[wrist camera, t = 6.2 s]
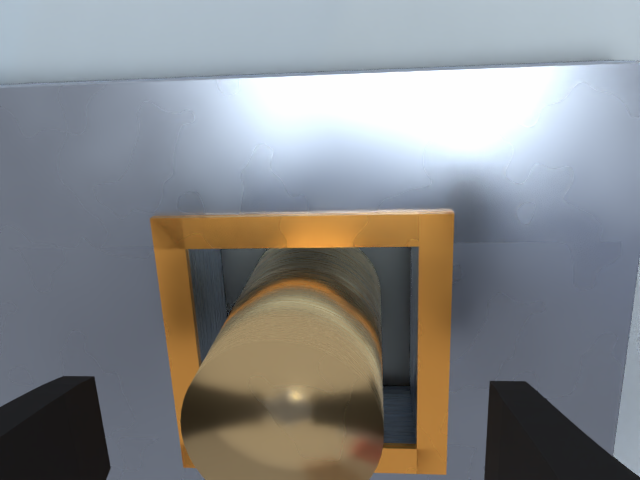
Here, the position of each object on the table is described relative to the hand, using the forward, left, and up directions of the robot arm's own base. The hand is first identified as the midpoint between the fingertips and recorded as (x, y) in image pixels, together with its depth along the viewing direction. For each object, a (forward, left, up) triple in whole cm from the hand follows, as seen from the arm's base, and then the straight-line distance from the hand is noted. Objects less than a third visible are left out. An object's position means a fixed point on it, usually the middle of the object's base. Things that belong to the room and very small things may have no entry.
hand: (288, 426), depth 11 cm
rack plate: (0, +3, -5) cm, 6 cm away
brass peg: (0, 0, -5) cm, 5 cm away
